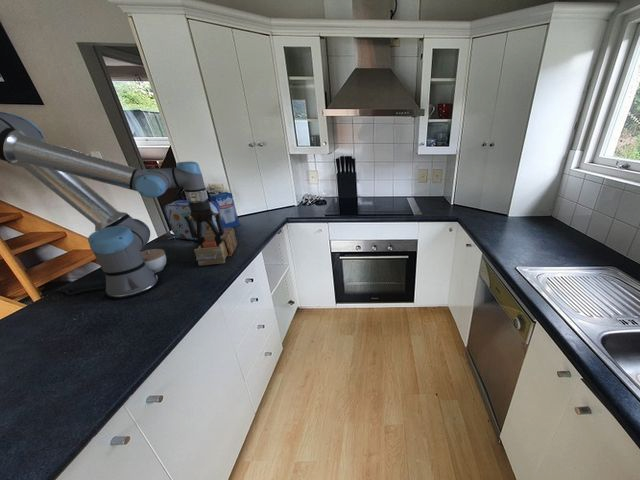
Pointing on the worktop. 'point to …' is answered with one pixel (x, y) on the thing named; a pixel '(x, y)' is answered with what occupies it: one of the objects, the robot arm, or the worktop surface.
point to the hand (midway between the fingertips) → (212, 250)
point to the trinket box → (154, 259)
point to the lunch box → (179, 224)
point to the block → (209, 243)
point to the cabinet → (224, 238)
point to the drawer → (211, 254)
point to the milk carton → (226, 208)
